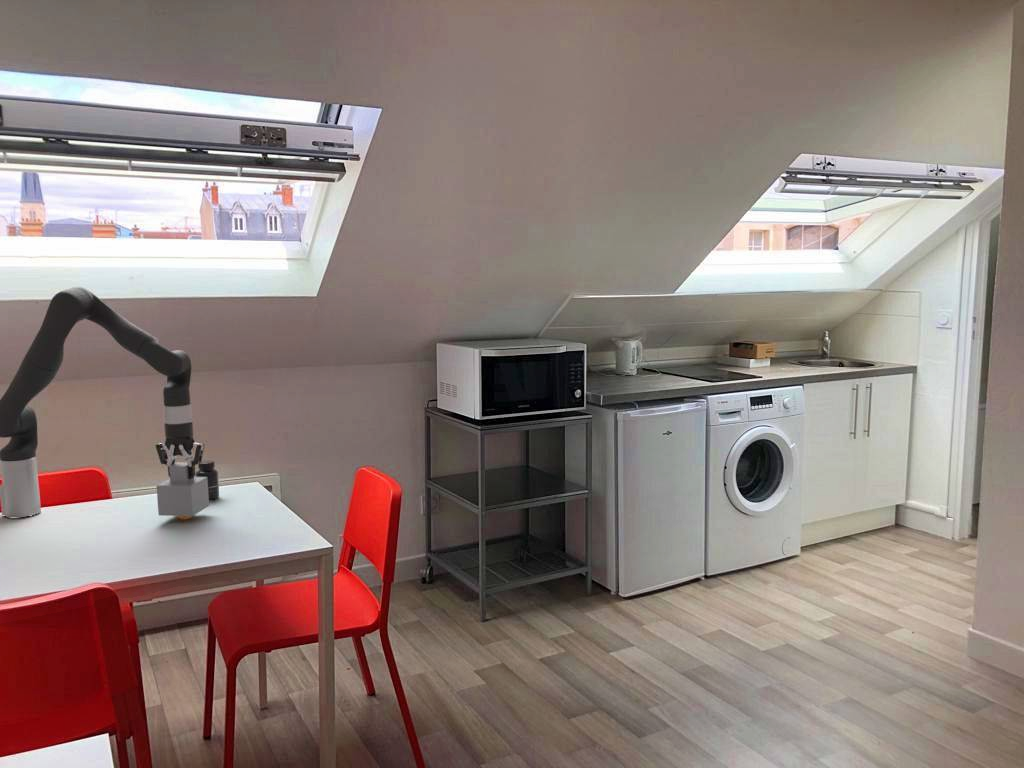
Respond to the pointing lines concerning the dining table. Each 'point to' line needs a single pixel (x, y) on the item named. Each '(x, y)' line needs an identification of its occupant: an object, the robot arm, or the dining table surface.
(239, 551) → the dining table surface
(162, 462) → the robot arm
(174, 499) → the stepped grey block
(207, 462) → the supplement bottle
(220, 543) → the dining table surface
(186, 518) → the ball
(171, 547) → the dining table surface
